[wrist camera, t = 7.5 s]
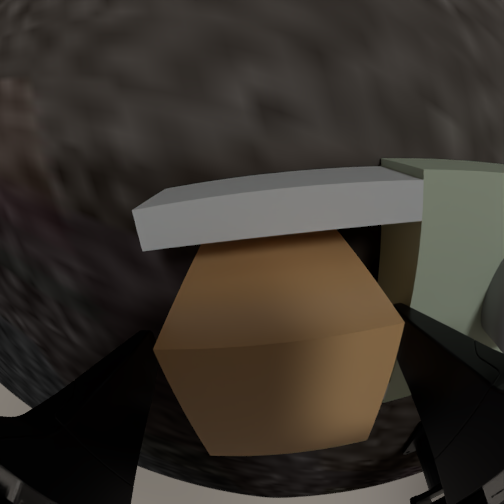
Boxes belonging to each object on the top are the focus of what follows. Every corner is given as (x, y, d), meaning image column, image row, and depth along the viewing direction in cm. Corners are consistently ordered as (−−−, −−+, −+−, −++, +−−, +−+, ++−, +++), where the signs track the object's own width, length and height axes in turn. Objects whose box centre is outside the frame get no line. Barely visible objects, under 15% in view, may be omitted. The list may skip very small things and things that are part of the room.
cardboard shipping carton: (332, 329, 12) (366, 439, 7) (225, 340, 13) (210, 455, 7) (333, 226, 10) (404, 323, 5) (202, 240, 11) (152, 349, 5)
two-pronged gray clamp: (525, 167, 8) (591, 192, 4) (494, 321, 12) (533, 368, 8) (164, 181, 10) (91, 222, 5) (214, 377, 13) (202, 459, 9)
